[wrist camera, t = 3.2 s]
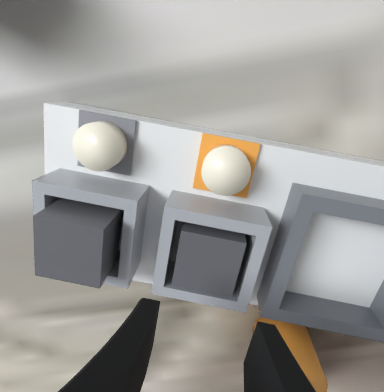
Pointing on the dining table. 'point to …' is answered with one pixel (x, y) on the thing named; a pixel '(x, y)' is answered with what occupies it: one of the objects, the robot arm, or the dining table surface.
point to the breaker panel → (229, 212)
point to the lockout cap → (301, 351)
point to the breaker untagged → (76, 241)
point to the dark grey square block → (208, 259)
